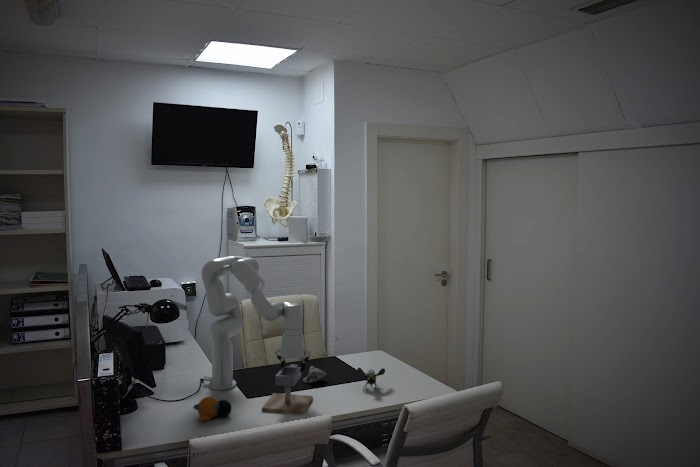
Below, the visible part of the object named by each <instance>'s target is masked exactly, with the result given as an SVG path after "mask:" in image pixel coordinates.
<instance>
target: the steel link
mask: <svg viewBox="0 0 700 467" xmlns="http://www.w3.org/2000/svg"><path fill="white" fill-rule="evenodd" d="M301 377H302V372H301V366H298V364H290V365H288V366H287V365H285V366H283V367H282V369H281V368H280V370H279V371H278V372H277V373H276V374H275V375H274V378H275V379H274V384H275V386H282V387H287V386H289V387H296V386H295V385H296V384H297V383H298V381H300V379H301Z"/></svg>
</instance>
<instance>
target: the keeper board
mask: <svg viewBox="0 0 700 467" xmlns="http://www.w3.org/2000/svg"><path fill="white" fill-rule="evenodd" d="M291 387H292V386H284V393H278V392H277V393H275V392H273V393H272V394H271V395H270V396H269V398H268V399H267V401H266V402H265V403H264V404H263V406H262V407H261V412H262V413H263V412H267V413H277V414H289V415H290V414H292V415H305V413H306V412H307V411H308V409H309V407H310V405H311V403H312V401H313V396H314V395H304V394H291V393H292V392H291V390H292V389H291Z"/></svg>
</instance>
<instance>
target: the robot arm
mask: <svg viewBox="0 0 700 467" xmlns="http://www.w3.org/2000/svg"><path fill="white" fill-rule="evenodd" d="M259 269H260V265H259V263H258V261H257V259H255V258H253V257H249V256H235V255H233V256H232V255H231V256H230V255H229V256H223V257H218V258H213V259H211V260H208V261H207V262H206V263H205V264H204V265H203V266H202V269H201V280H202V283H203V286H204V291H205V297H206V302H207V306H208V308H207V309H208V311H209V313H210V315H211V316H212V317H215V318H216V317H222V316H223V318H220V319H217V320H215V321H213V322H212V323H211V324H210V327H209V336H210V341H211V342H210V343H211V375H204V376H203V379H204V381H205V382H208V387H209V389H211V390H216V391H225V390H230V389H233V388H235V387H236V385H237V381H236V380H235V379H234V376H233V375H234V369H233V367H234V364H233V363H234V356H233V355H234V353H233V352H234V349H233V343H232V341H231V338H232V337H234V336H236V335H238V334H240V333H241V331H243V326H244V325H243V324H244V321H243V318H242V317H243V316H242V312H241V307H240V302H239V300H238V298H237V296H236V295H235V294H233V293H230V292H227V293H226V292H225V287H224V284H223V281H222V280H221V279H220V278H221V277H224V276H229V275H233V276H234V277H235V278H236V279H237V280H238V282H240V284H241V285H242V286H243V287H244V289H246V291H247V292H248V293H249V295H250V301H251V303H252V306H253V308H254V310H255V311H256V312H257V313H258V314H259V316H261V318H262V319H264V320H265V321H266V322H269V323H270V322H272V323H273V322H275V321H277V320H278V321H279V320H280V319H284V320H283V321H284V322H283V324H284V328H281V330H280V331H281V333H283V334H282V335H281V341H280V342H281V344H280V348H278V349H276V350H275V351H274V355H275V356H276V358H277V360H279V363H280V370H281V369H282V367H283V366H286V360H285V359H292V360H293V359H300V361H301V364H300V367H301V373H304V372H305V371H306V365H307V364H306V362H307V361H308V360H310V358H311V356H312V354H313V353H312V352H311V351H310V350H309V349H307V348H306V345H305V338H304V334H303V332H302V331H303V330H302V326H303V325H302V319H303V318H302V305H301V304H300V303H297V302H288V301H285V300H278V301H275V302H272V303H271V302H270V301H269V300H268V299H267V298H266V297H265V295H264V292H263V289H264V287H265V284H266V283H265V280H264V278H263V277H262V276H261V275H260V274H259V273H258V272H259ZM305 354H306V355H307V356H306V357H305Z"/></svg>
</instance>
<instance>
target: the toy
mask: <svg viewBox="0 0 700 467" xmlns="http://www.w3.org/2000/svg"><path fill="white" fill-rule="evenodd" d="M193 409H194V410H195V411H197V413H198V415H199V418H198V422H203V421H209V420H211V419H213V418H215V417H219V418H221V419H222V418H225V417H228V416H229V415H230V414H231V413H232V409H233V408H232V404H231V402H229V401H228V400H227V399H220V400H218V399H216V398H215V397H212V396H206V397H203V398H202V399H200V401H199V402H198V403H196V404H194V405H193Z"/></svg>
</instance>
